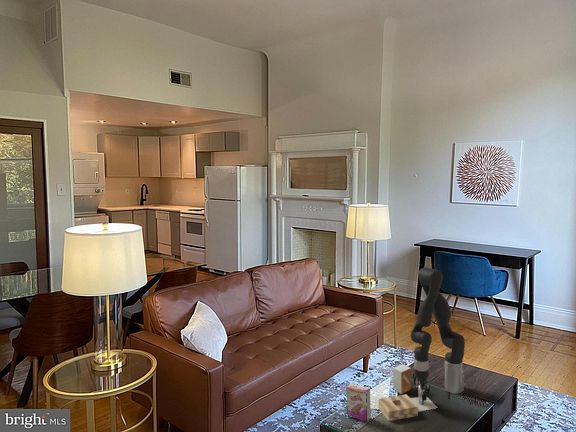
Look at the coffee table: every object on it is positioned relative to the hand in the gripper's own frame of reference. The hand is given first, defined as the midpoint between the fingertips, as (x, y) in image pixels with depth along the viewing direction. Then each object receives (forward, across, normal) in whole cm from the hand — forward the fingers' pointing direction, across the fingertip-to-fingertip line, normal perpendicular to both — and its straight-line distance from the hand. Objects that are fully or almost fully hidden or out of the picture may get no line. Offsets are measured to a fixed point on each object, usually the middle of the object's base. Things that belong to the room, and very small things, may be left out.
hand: (421, 397), depth 229 cm
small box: (+4, +16, +3) cm, 17 cm away
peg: (+3, 0, 0) cm, 3 cm away
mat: (+4, 0, 0) cm, 4 cm away
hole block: (+4, -3, +15) cm, 16 cm away
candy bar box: (+4, -2, +36) cm, 36 cm away
